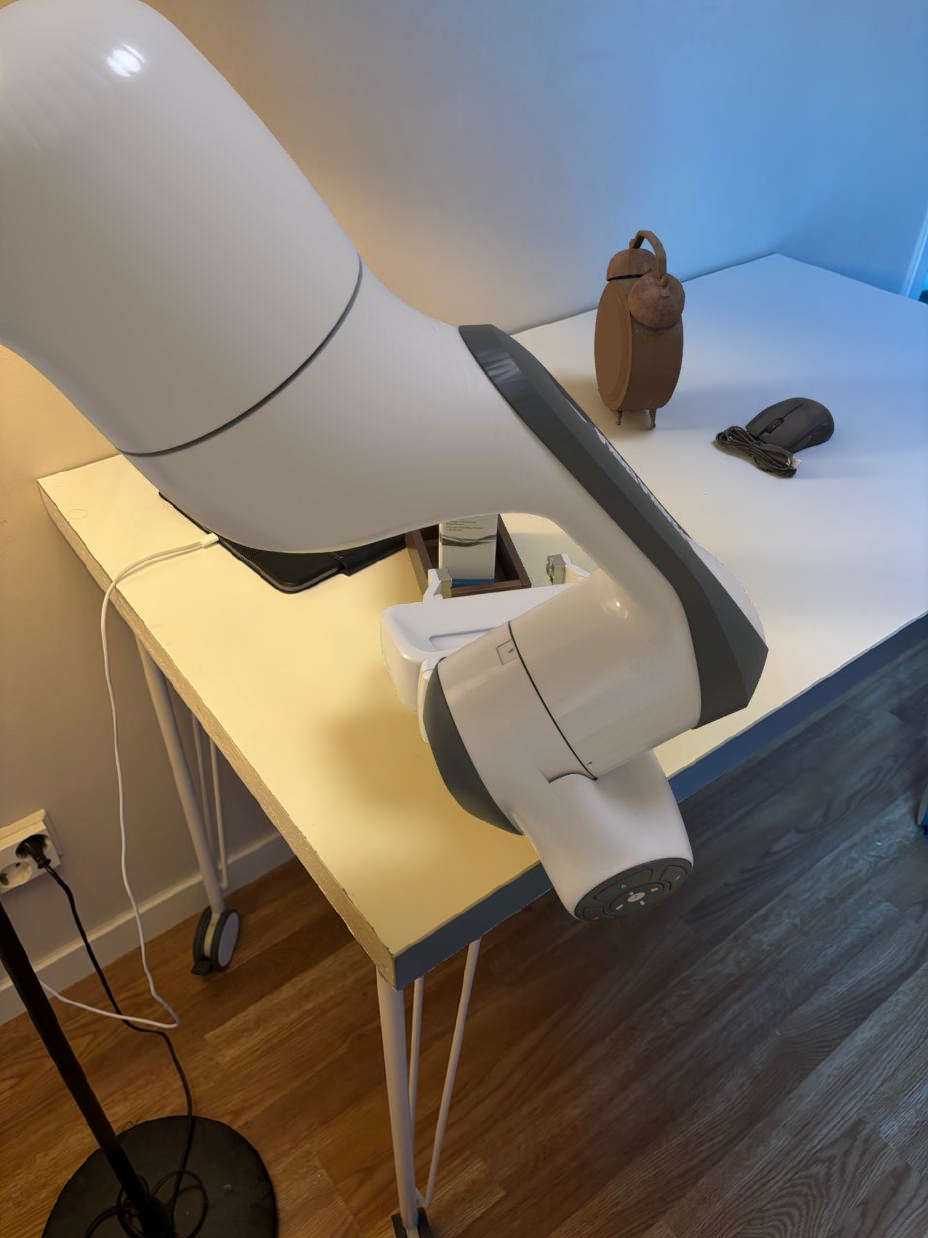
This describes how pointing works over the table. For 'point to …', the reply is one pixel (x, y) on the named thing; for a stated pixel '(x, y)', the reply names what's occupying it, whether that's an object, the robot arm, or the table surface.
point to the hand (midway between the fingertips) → (497, 568)
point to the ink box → (469, 549)
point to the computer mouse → (781, 433)
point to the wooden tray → (505, 579)
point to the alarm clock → (639, 330)
